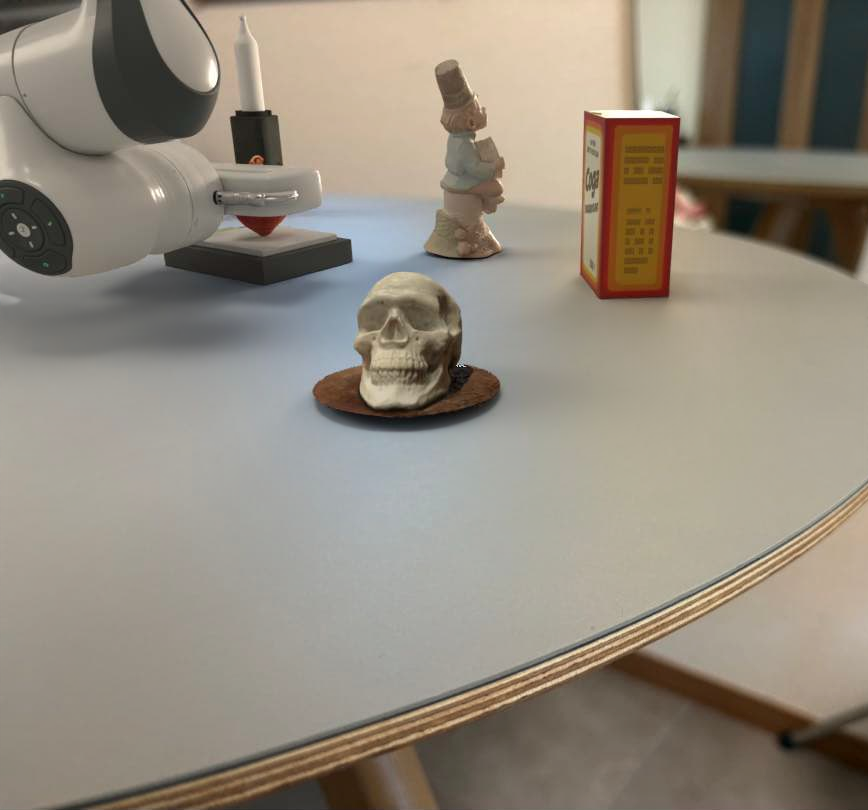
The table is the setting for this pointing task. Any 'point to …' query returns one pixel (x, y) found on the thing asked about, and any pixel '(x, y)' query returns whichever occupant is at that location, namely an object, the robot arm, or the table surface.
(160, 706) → the table surface
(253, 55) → the candle
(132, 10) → the robot arm
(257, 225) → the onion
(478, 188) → the figurine
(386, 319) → the skull
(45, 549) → the table surface
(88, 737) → the table surface
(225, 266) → the scale
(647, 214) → the baking soda box
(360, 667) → the table surface
